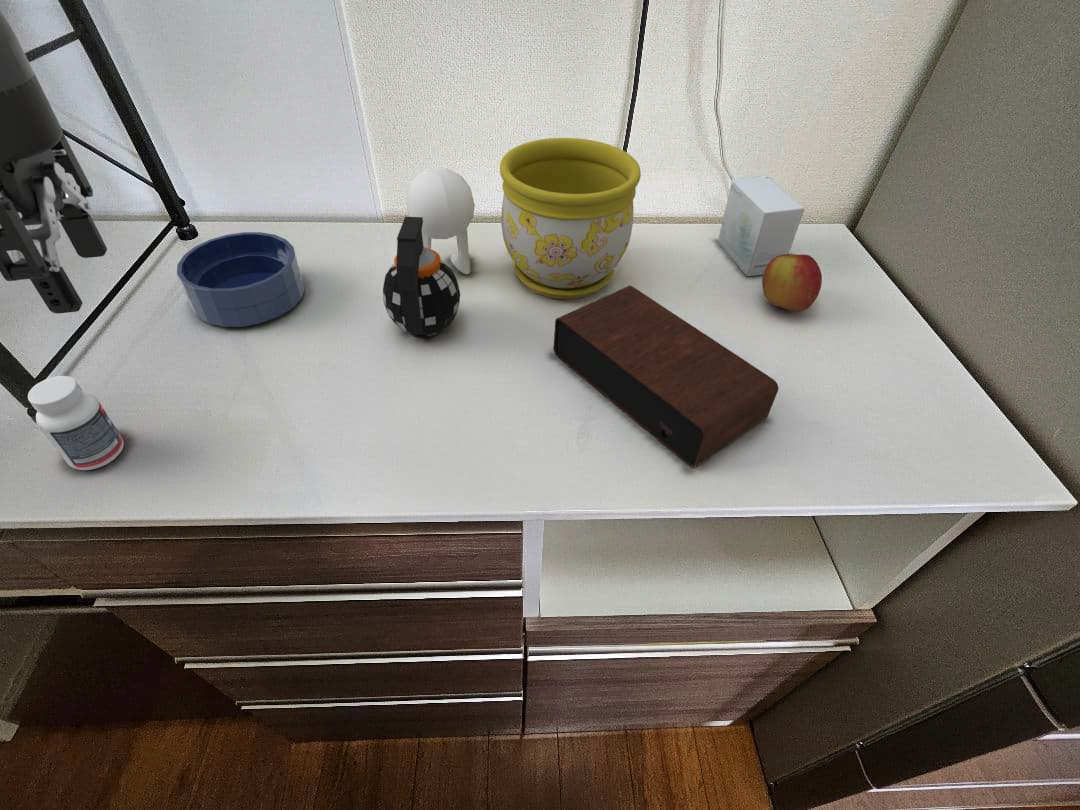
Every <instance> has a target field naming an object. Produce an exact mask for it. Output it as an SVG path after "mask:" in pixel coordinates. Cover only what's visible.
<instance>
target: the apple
mask: <svg viewBox="0 0 1080 810" xmlns="http://www.w3.org/2000/svg"><path fill="white" fill-rule="evenodd" d="M761 284H762V294H763V296H764V298H765V300H766V301H767V302H768V303H769V304H770V305H772V306H776V307H780V308H782V309H785V310H789V311H794V312H798V313H799V312H804V311H805V310H807V309H809V308H810V307H812V305H813V304H814V303H815V301H816V300H817V298H818V296H819V295H820V293H821V289H822V284H823V275H822V270H821V268H820V265H819V264H818V262H817V260H816V259H815V258H814V257H813V256H811V255H808V254H803V253H802V254H795V253H789V254H782V255H779V256H776V257H775V258H773V259H772V260H771V261H770V262H769V263H768V265H767V267H766V269H765V271H764V274H762V279H761Z"/></svg>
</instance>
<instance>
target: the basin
mask: <svg viewBox="0 0 1080 810" xmlns="http://www.w3.org/2000/svg"><path fill="white" fill-rule="evenodd" d="M176 275H177V278H178V280H179V282H180V285H181V287H182V290H183V292H184V294H185V295H186V296H185V297H186V298H187V301H188V303H189V305H190V307H191V309H192V311H193V313H194V314H195V315H196V317H197V318H198V319H200V320H202V321H203V322H206V323H207V324H210V325H214V326H220V327H225V328H226V327H227V328H229V327H231V328H233V327H234V328H235V327H236V328H237V327H239V328H240V327H241V328H242V327H247V326H254V325H258V324H259V325H260V324H262V323H265V322H269V321H271V320H273V319H277V318H279V317H281V316H282V315H284V314H286V313H287V312H289V311H291V310H292V309H293V308H294V307H295V306H296V305H297V304H298V303H299V302H300V301H301V300H302V297H303V295H304V292H305V284H304V279H303V276H302V272H301V269H300V264H299V261H298V258H297V254H296V250H295V247H294V246H293V245H292V243H291V242H289V240H288V239H286V238H284V237H281V236H279V235H277V234H275V233H274V234H273V233H268V232H262V231H259V232H258V231H244V232H236V233H229V234H228V233H227V234H225V235H221V236H217V237H214V238H210V239H208V240H206V241H204V242H201V243H199V244H198V245H196V246H194V247H192V248H191V249H190V250H188V251H187V252H185V254H183V255H182V257H181V259H180V260H179V261H178V263H177V265H176Z"/></svg>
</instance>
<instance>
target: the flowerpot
mask: <svg viewBox="0 0 1080 810" xmlns="http://www.w3.org/2000/svg"><path fill="white" fill-rule="evenodd" d="M639 164H640V163H638V161H637V160H636V159H635V158H634V157H633V155H631V154H629V153H628V152H626V151H625V150H623V149H621V148H619V147H617V146H614V145H611V144H609V143H606V142H601V141H598V140H593V139H587V138H579V137H578V138H577V137H552V138H551V137H550V138H542V139H541V138H540V139H535V140H531V141H527V142H525V143H524V142H523V143H522V144H520V145H517V146H515V147H513V148H511V149H510V150H509V151H507V152H506V153H505V154H504V155H503V156H502V158H501V160H500V163H499V173H500V177H501V179H502V180H503V181H502V184H501V185H502V187H501V188H502V192H503V197H502V203H501V215H500V216H501V217H500V218H501V220H500V221H501V231H502V238H503V242H504V245H505V249H506V251H507V252H508V255H509V257H510V258H511V260H512V262H513V263H514V264H513V268H514V273H515V275H516V276H517V278H518V279H519V281H521V282H522V283H523V284H524V285H525V286H526V287H527V288H529V289H530V290H531V291H532V292H534V293H536V294H538V295H542V296H544V297H547V298H552V299H559V300H560V299H561V300H574V299H582V298H585V297H588V296H591V295H593V294H595V293H597V292H598V291H600V290H601V289H602V288H603V287H605V286H607V284H608V283H610V281H611V280H612V278H613V276H614V271H615V270H614V269H615V267H617V266H618V264H619V263H620V262H621V260H622V258H623V257H624V255H625V254H626V251H627V249H628V246H629V245H630V244H629V243H630V241H631V236H632V230H633V223H634V199H635V197H636V193H637V191H636V188H637V186H638V185H639V183H640V180H641V176H642V175H641V174H642V173H641V167H640V165H639Z"/></svg>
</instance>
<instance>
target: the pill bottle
mask: <svg viewBox="0 0 1080 810" xmlns="http://www.w3.org/2000/svg"><path fill="white" fill-rule="evenodd" d="M27 400H28V402H29V403H30V404H31V406H32V407H33V409H34V410H35V411H36V414H35V421H36V424H37V426H38V427H39V429H40V430H41V431H42V433H43V434H44V435H45V437H47V439H48V440H49V441H50V443H51V444H52V445H53V447H54V448H55V449H56V450H57V452H58V453H59V454H60V456H61V457H62V458H63V460H64V461H65V462H66V463H67V465H68V466H69V467H70V468H71V469H74V470H79V471H91V470H95V469H99V468H102V467H104V466H106V465H108V464H110V463H111V462H113V461H114V460H116V458H117V457H118V456H119V455H120V454H121V452H122V451H123V448H124V445H125V441H124V438H123V437H122V435H121V433H120V432H119V430H118V429H117V427H116V426H115V424H114V423H113V421H112V419H111V418H110V416H109V415H108V413H107V412H106V410H105V409H104V407H103V406H102V403H100V401H99V400H98V398H97V397H96V396H95V395H94V394H92V393H90V392H88V391H85V390H84V391H83V389H82V387H81V386H80V384H79V383H78V381H77V380H76V379H75V378H74V377H72V376H68V375H57V376H51V377H49V378H45V379H44V380H41V381H39V382H38V383H36V384H35V385H34V386H32V387H31V389H30V390H29V391H28V393H27Z"/></svg>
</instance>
